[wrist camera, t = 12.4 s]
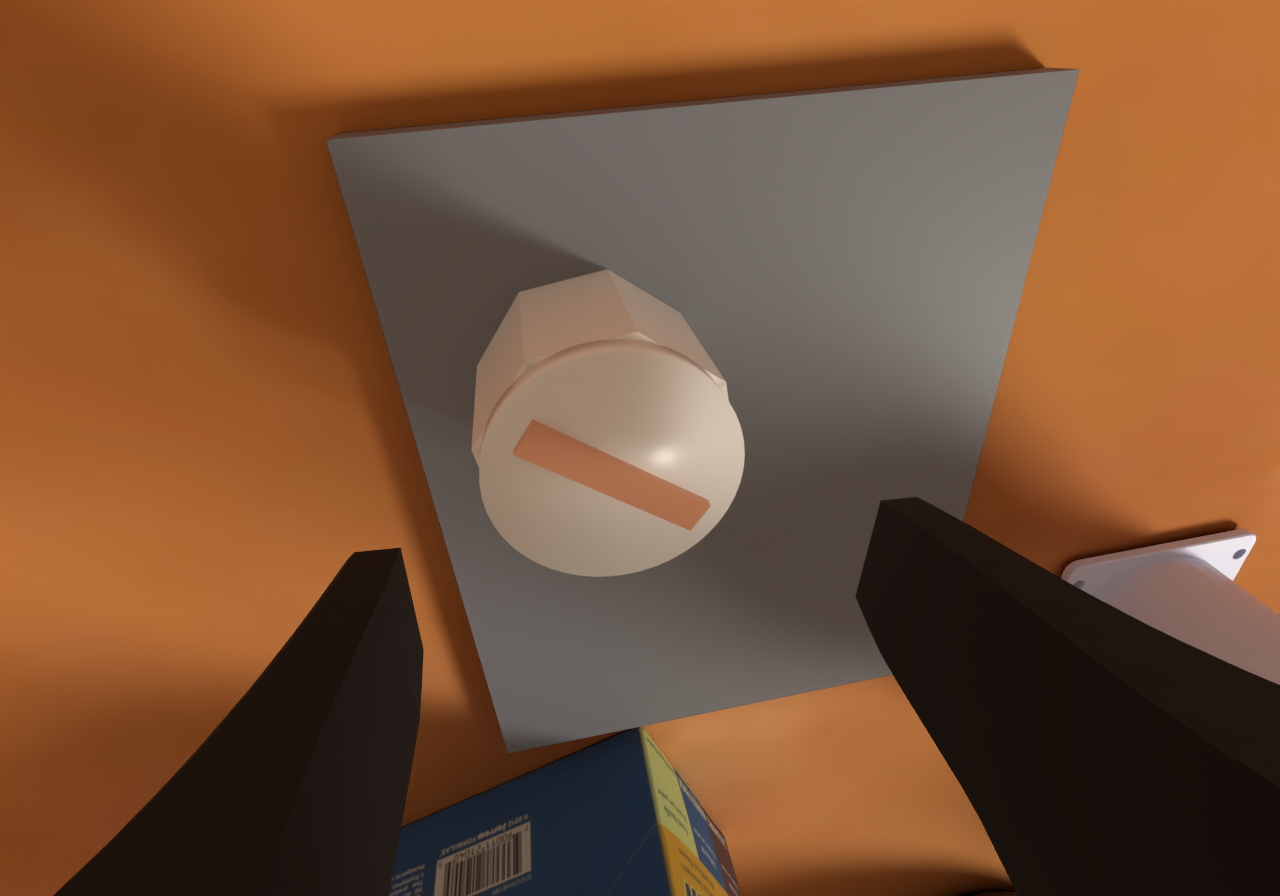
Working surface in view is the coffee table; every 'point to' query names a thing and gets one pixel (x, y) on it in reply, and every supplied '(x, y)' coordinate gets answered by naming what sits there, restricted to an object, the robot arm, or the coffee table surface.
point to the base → (718, 355)
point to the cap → (602, 429)
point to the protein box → (572, 833)
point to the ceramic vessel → (998, 894)
